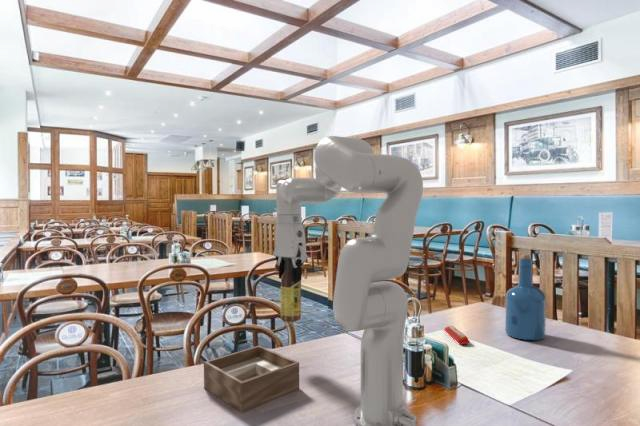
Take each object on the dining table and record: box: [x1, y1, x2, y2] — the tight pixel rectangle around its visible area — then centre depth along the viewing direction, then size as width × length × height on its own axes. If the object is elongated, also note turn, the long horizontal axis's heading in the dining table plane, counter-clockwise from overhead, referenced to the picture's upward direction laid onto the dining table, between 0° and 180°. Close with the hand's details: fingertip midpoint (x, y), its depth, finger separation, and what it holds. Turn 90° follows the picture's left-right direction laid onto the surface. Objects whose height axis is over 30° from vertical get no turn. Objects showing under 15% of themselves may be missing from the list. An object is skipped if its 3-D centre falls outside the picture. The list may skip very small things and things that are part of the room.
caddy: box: [203, 345, 300, 414], centre depth 111 cm, size 18×18×7 cm
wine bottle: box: [504, 253, 547, 341], centre depth 152 cm, size 14×13×30 cm
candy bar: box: [444, 325, 470, 346], centre depth 150 cm, size 16×4×3 cm, turn 4°
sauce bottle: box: [280, 256, 302, 323], centre depth 128 cm, size 7×6×20 cm
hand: (290, 278), depth 128 cm, fingers closed on sauce bottle, 5 cm apart
